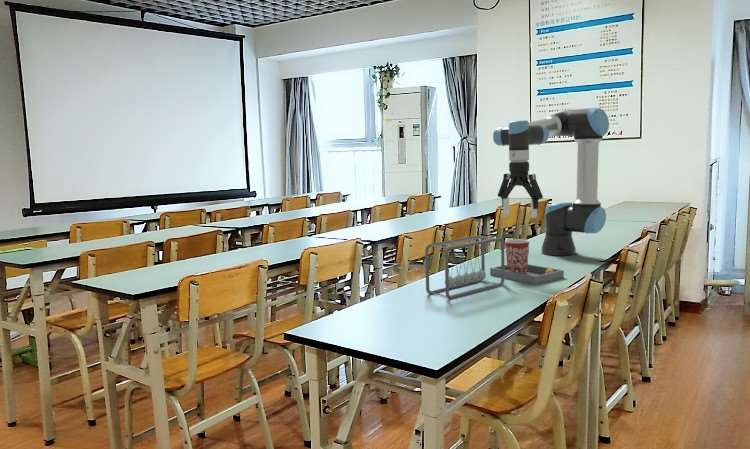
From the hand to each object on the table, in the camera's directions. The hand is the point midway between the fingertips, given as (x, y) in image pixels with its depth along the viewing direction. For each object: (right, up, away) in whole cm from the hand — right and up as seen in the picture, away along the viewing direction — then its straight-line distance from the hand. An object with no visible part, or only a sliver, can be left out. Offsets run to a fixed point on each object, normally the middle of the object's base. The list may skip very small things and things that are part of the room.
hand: (519, 216), depth 231 cm
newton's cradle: (-24, -27, -21) cm, 41 cm away
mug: (-1, -23, -2) cm, 23 cm away
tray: (+1, -23, -5) cm, 24 cm away
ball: (+9, -23, -8) cm, 26 cm away
